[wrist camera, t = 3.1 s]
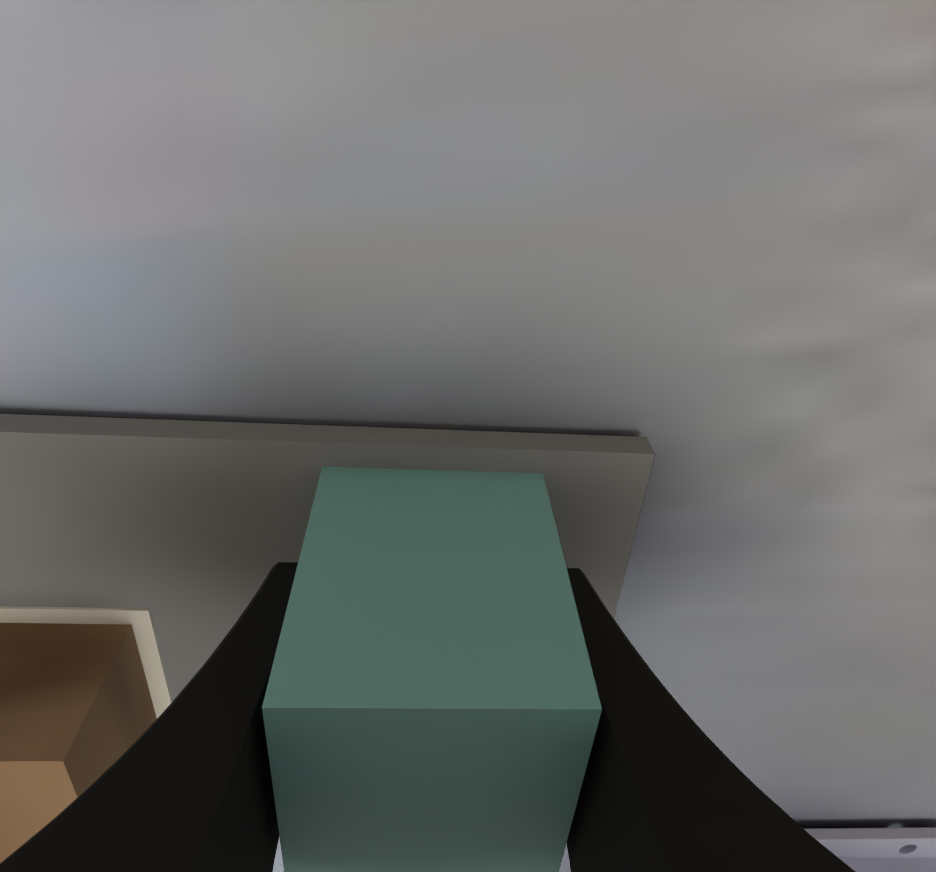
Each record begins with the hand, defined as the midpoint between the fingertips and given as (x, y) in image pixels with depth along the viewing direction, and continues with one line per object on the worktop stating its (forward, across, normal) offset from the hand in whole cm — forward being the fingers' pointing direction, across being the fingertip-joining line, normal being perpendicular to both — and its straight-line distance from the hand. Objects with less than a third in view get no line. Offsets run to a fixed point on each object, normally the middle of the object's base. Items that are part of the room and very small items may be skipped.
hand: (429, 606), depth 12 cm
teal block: (+1, 0, 0) cm, 1 cm away
